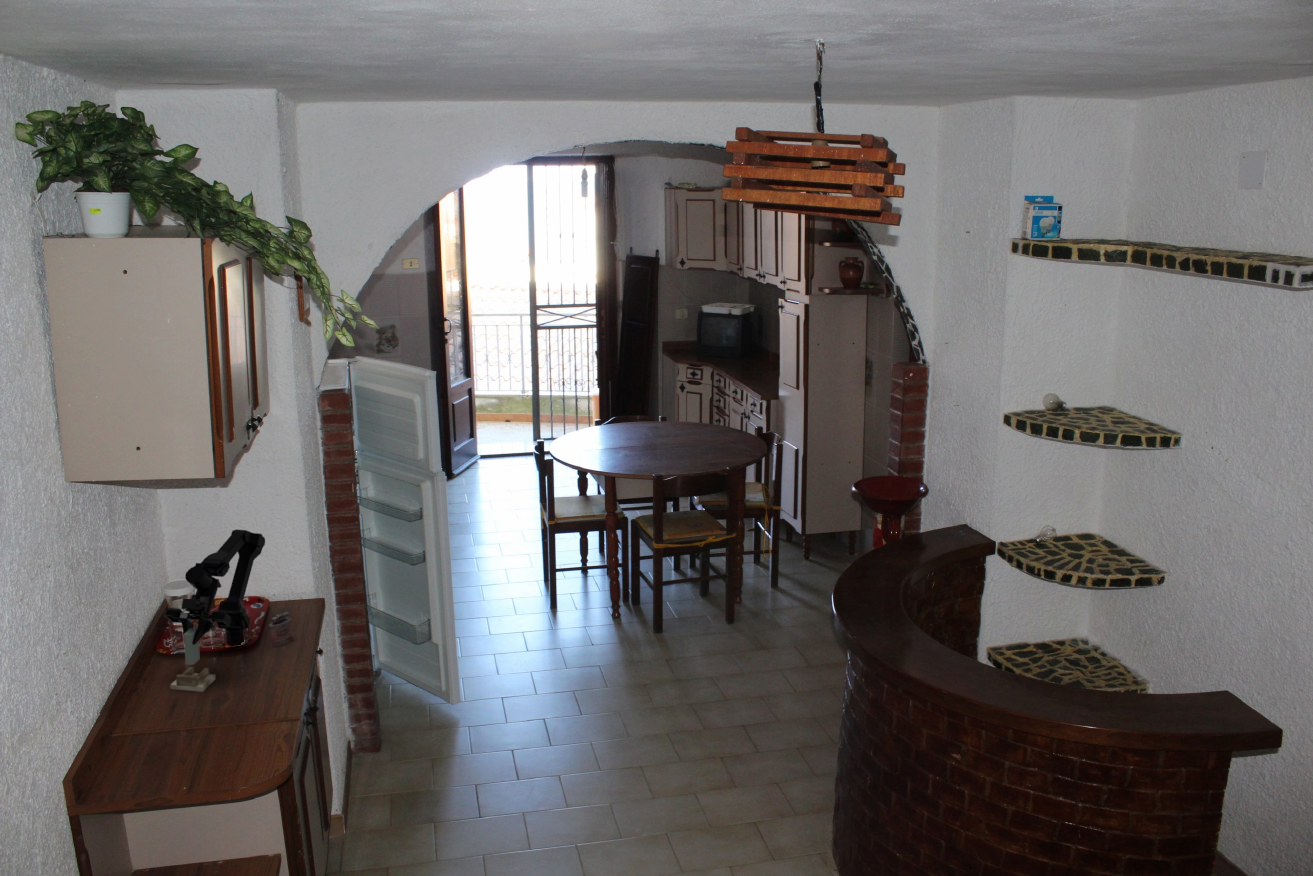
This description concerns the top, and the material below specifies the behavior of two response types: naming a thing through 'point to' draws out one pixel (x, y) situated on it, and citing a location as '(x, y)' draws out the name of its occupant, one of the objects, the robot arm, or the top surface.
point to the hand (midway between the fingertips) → (189, 644)
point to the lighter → (280, 630)
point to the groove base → (193, 680)
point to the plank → (191, 647)
